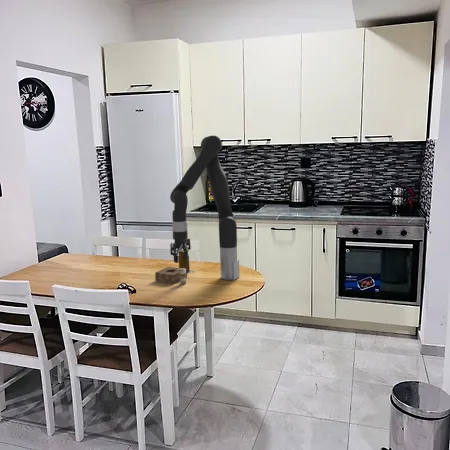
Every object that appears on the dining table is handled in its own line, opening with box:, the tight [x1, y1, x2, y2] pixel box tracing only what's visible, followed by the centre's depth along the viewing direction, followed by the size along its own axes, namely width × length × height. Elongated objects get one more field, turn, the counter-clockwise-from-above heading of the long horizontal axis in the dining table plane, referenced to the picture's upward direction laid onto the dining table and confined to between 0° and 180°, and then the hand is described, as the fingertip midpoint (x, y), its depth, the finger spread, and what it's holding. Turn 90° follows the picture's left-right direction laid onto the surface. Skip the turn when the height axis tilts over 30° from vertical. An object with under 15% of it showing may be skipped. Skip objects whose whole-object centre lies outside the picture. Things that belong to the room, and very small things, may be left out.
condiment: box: [178, 249, 195, 274], centre depth 243 cm, size 7×8×12 cm
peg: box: [179, 268, 187, 286], centre depth 222 cm, size 4×4×8 cm
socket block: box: [154, 266, 188, 285], centre depth 230 cm, size 12×12×5 cm
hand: (181, 260), depth 220 cm, fingers open, 8 cm apart
